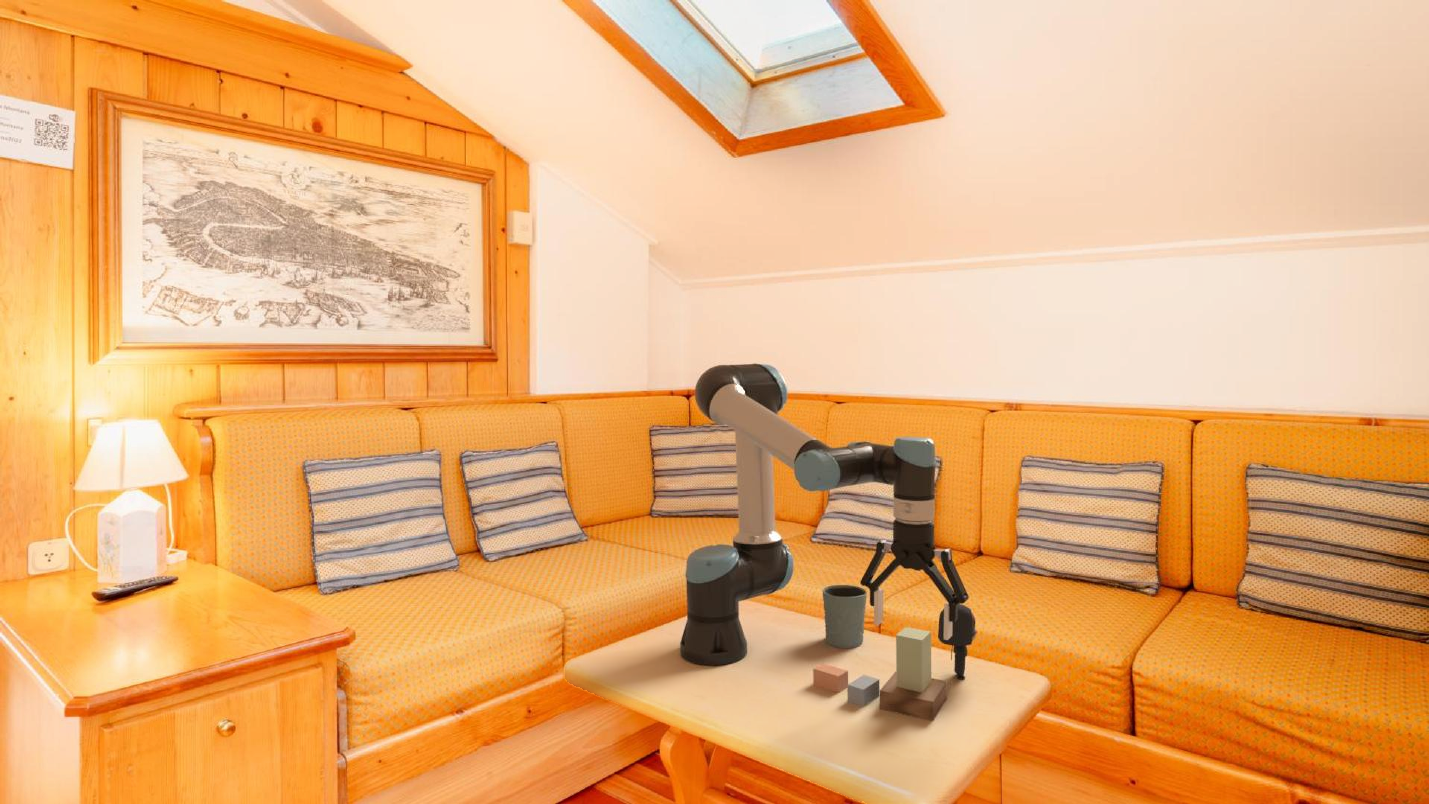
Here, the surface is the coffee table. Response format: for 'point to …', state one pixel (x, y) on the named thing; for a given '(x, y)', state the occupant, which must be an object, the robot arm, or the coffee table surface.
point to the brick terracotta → (830, 677)
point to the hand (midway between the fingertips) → (912, 630)
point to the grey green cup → (844, 615)
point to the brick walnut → (914, 699)
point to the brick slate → (863, 690)
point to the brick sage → (913, 659)
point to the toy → (959, 636)
